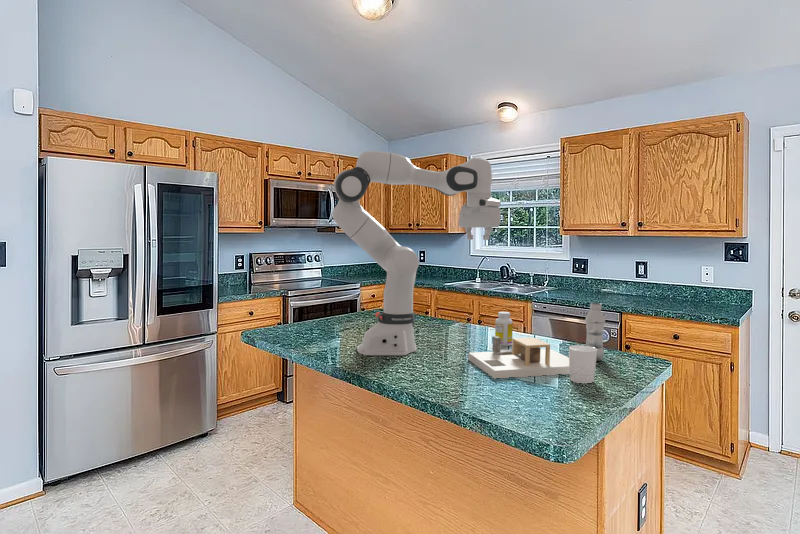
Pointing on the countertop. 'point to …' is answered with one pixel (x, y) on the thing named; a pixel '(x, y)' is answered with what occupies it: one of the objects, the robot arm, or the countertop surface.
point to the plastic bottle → (595, 329)
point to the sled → (533, 354)
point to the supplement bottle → (504, 328)
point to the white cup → (582, 363)
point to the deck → (516, 366)
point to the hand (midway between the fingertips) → (477, 239)
